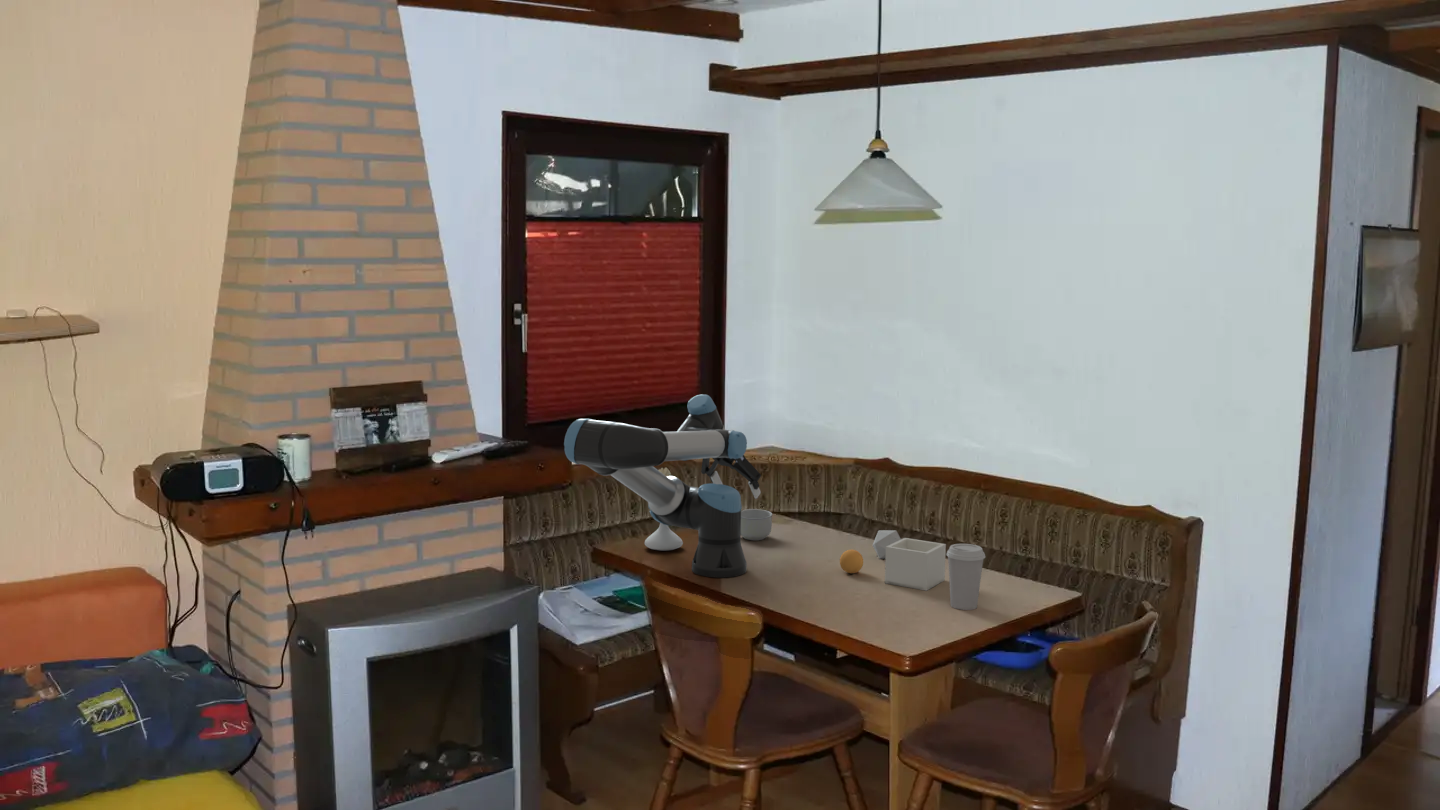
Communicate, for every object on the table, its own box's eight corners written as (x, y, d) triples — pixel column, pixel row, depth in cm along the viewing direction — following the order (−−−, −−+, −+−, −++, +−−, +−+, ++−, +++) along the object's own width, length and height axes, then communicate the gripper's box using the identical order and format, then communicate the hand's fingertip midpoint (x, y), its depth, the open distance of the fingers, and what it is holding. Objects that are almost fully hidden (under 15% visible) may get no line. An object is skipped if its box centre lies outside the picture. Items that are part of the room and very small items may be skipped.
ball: (856, 577, 318) (857, 554, 317) (835, 573, 322) (835, 550, 321) (867, 572, 323) (867, 549, 323) (846, 568, 327) (846, 545, 326)
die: (901, 556, 343) (883, 528, 345) (913, 548, 336) (895, 519, 338) (880, 569, 340) (862, 540, 342) (892, 561, 332) (873, 532, 334)
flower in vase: (641, 544, 351) (641, 462, 348) (678, 543, 354) (679, 461, 350) (648, 555, 338) (648, 470, 335) (687, 554, 341) (688, 469, 338)
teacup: (778, 537, 362) (778, 511, 361) (760, 544, 353) (760, 518, 352) (739, 531, 369) (739, 506, 368) (721, 537, 360) (721, 512, 359)
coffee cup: (936, 603, 295) (938, 545, 293) (965, 598, 300) (967, 541, 298) (962, 614, 287) (964, 554, 285) (991, 608, 292) (993, 549, 290)
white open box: (926, 590, 306) (927, 553, 305) (884, 583, 313) (885, 546, 311) (944, 580, 316) (945, 544, 315) (903, 573, 323) (904, 537, 321)
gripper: (757, 436, 335) (779, 489, 348) (688, 427, 350) (711, 478, 362) (745, 454, 331) (768, 507, 343) (675, 444, 345) (699, 495, 358)
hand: (739, 492), depth 353 cm, fingers open, 13 cm apart
